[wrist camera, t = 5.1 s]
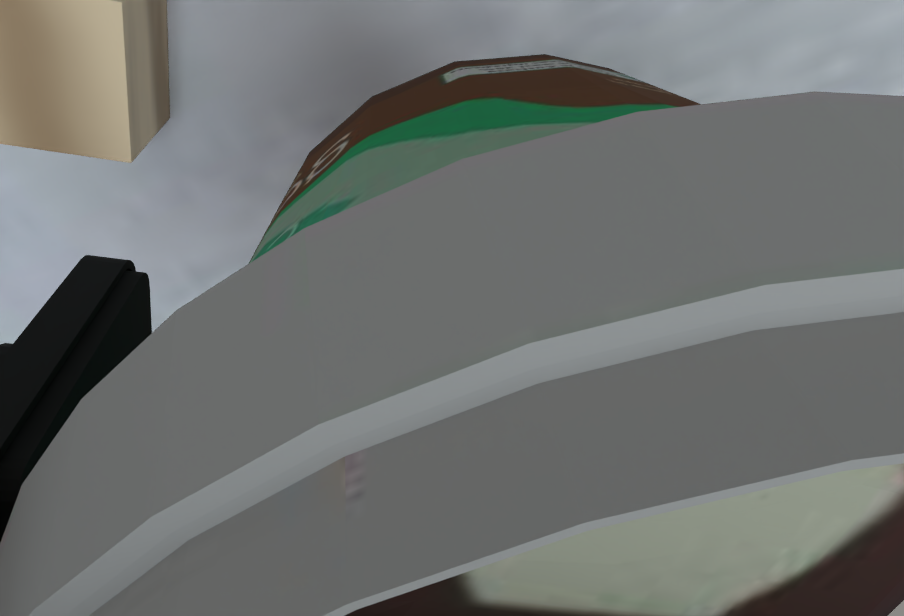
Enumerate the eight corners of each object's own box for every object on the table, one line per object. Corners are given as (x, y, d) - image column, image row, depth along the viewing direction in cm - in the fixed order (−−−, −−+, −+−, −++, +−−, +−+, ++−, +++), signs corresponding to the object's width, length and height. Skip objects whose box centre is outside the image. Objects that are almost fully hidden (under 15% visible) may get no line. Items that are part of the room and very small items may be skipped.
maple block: (166, -20, 24) (121, 2, 19) (170, 117, 26) (131, 163, 22) (12, -51, 23) (-70, -34, 18) (32, 95, 25) (-36, 138, 21)
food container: (256, -170, 9) (-1264, -846, 1) (648, -25, 11) (1690, 329, 2) (175, 457, 15) (-83, 1162, 7) (430, 494, 17) (476, 1116, 8)
